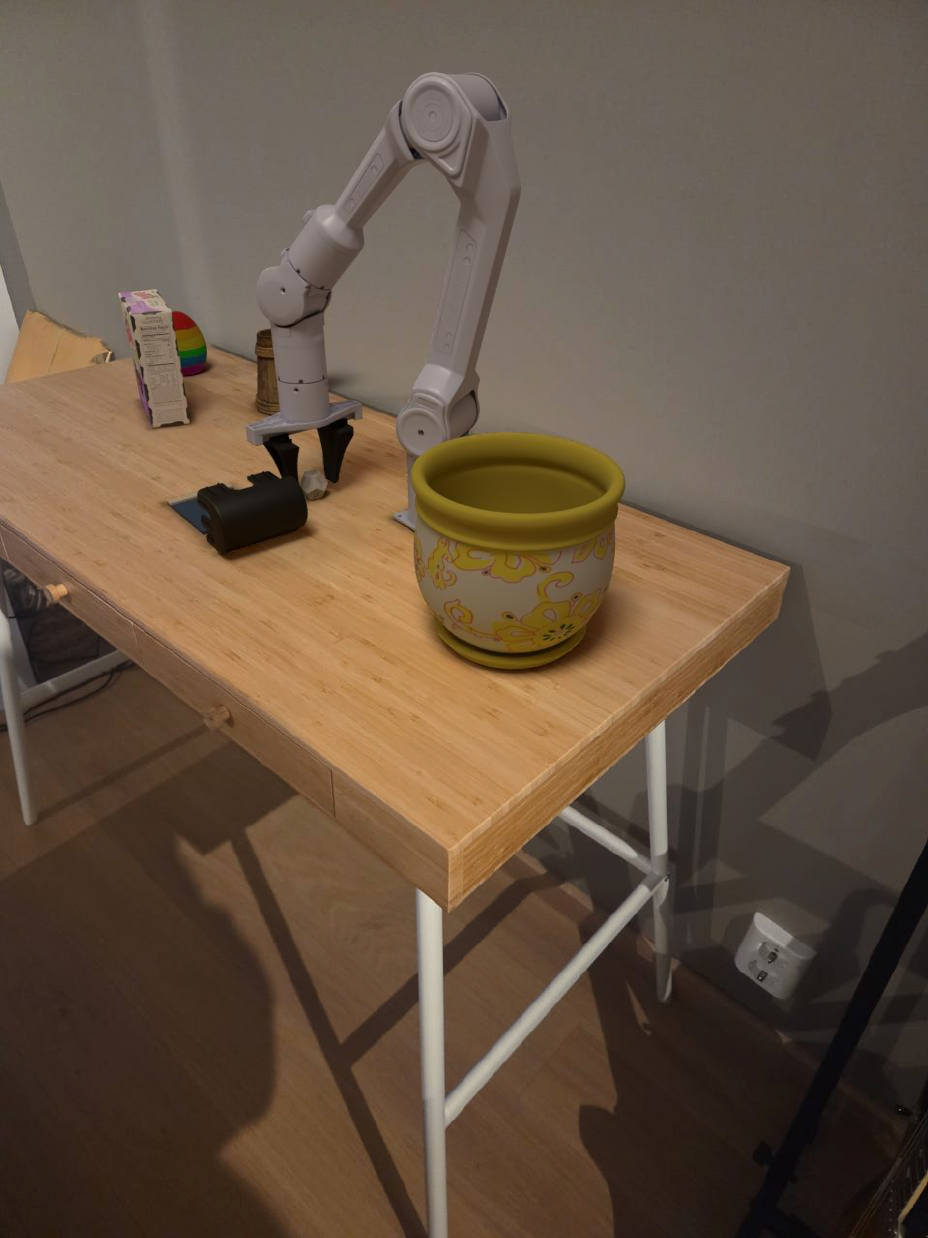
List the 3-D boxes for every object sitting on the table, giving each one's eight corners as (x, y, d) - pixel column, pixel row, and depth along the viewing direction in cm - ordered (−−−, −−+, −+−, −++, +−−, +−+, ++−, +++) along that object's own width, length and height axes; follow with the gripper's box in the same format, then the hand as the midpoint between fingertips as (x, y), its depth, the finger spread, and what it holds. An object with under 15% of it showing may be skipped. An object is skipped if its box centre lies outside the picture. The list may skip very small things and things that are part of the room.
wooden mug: (349, 402, 131) (341, 282, 121) (270, 419, 125) (255, 293, 115) (322, 387, 137) (313, 272, 127) (246, 403, 130) (229, 282, 121)
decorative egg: (197, 361, 148) (187, 303, 143) (218, 372, 143) (209, 312, 138) (153, 370, 144) (141, 310, 138) (173, 381, 139) (161, 319, 133)
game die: (293, 495, 103) (290, 472, 101) (319, 487, 105) (317, 465, 103) (308, 505, 101) (306, 482, 99) (334, 496, 103) (332, 474, 101)
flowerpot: (641, 628, 79) (667, 468, 70) (524, 718, 68) (537, 541, 59) (497, 564, 89) (503, 416, 80) (374, 633, 78) (365, 471, 69)
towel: (266, 514, 98) (266, 509, 98) (203, 534, 94) (202, 529, 94) (228, 487, 105) (227, 481, 104) (167, 504, 100) (166, 499, 100)
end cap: (229, 566, 88) (219, 509, 84) (201, 541, 93) (190, 485, 89) (311, 539, 93) (306, 484, 89) (281, 516, 98) (274, 463, 94)
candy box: (139, 400, 131) (116, 290, 122) (177, 395, 133) (158, 287, 124) (151, 429, 121) (127, 312, 112) (192, 423, 123) (172, 308, 114)
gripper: (336, 357, 101) (344, 461, 108) (227, 379, 93) (243, 491, 100) (369, 371, 96) (375, 479, 104) (257, 396, 88) (272, 511, 96)
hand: (312, 486), depth 102 cm, fingers open, 5 cm apart
